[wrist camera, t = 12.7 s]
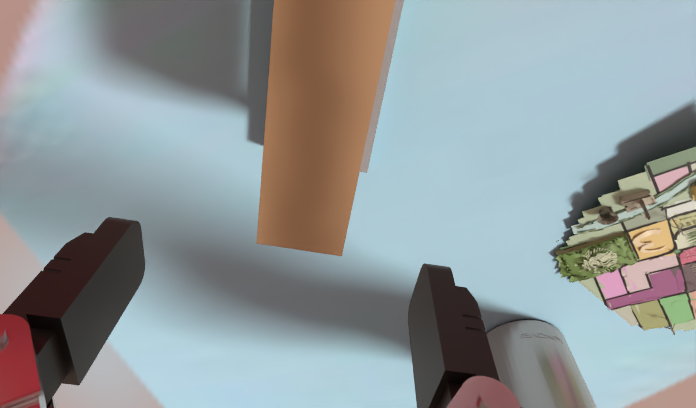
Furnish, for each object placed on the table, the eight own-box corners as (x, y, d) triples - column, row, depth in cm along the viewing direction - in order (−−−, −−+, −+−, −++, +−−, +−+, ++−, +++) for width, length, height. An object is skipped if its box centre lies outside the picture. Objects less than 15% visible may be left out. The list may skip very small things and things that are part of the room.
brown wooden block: (389, -29, 22) (397, -10, 17) (345, 195, 29) (341, 256, 24) (297, -47, 21) (276, -33, 16) (275, 184, 28) (256, 243, 23)
